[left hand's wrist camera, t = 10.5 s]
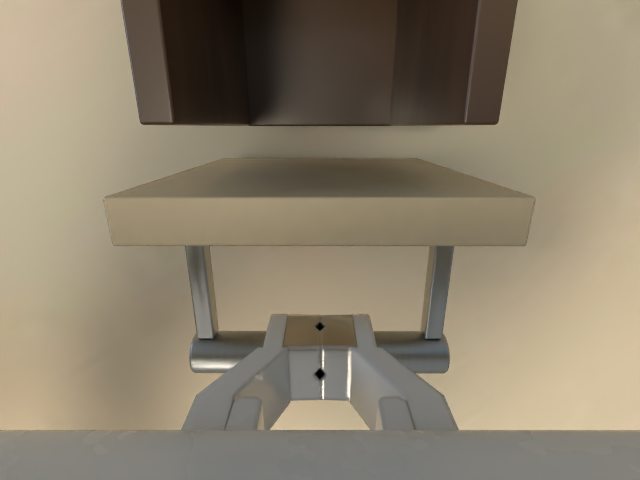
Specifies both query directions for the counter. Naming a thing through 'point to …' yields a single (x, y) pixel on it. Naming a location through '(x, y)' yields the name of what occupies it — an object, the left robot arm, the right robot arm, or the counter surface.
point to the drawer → (319, 110)
